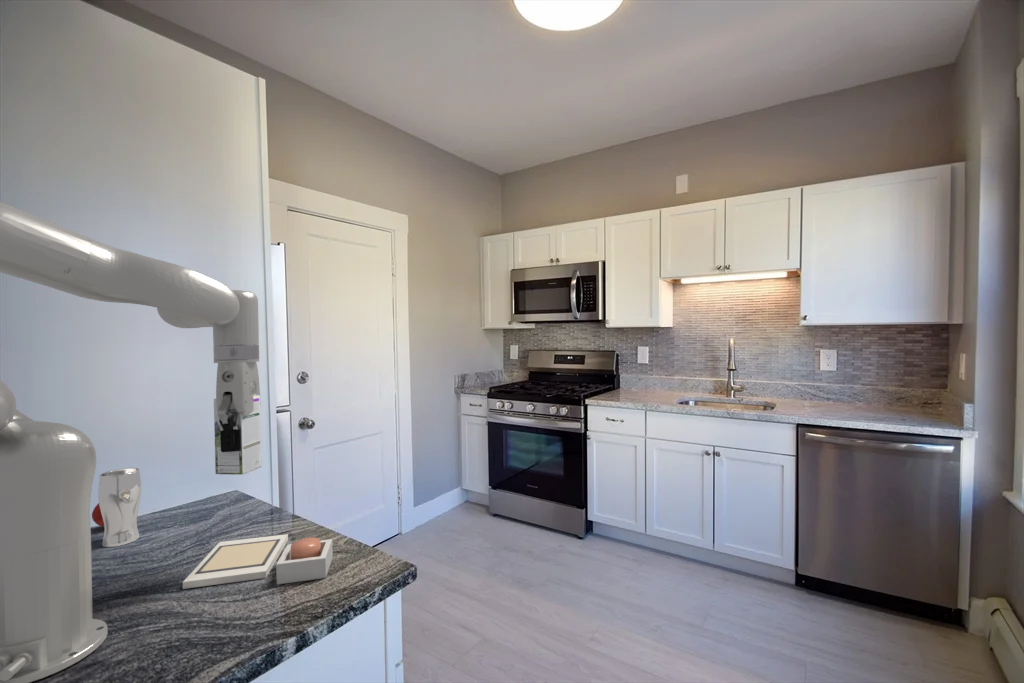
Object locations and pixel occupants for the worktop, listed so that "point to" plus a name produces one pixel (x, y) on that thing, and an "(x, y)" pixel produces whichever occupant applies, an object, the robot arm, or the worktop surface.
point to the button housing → (304, 565)
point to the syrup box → (250, 444)
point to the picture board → (237, 561)
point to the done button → (306, 548)
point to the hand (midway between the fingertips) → (238, 445)
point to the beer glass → (119, 505)
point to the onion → (97, 516)
